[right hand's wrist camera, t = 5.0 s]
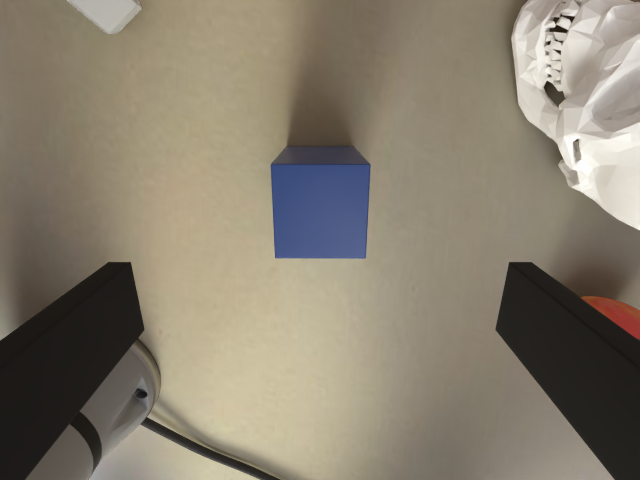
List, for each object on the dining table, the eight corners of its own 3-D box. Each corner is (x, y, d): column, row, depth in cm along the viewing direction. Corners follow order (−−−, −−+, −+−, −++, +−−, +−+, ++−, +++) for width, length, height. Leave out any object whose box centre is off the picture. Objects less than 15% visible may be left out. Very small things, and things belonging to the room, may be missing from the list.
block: (286, 146, 32) (270, 163, 22) (353, 146, 32) (370, 163, 22) (288, 213, 34) (274, 258, 24) (351, 213, 34) (365, 258, 24)
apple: (543, 368, 40) (612, 447, 31) (510, 308, 37) (574, 374, 28) (628, 329, 38) (728, 400, 29) (600, 262, 36) (700, 316, 26)
